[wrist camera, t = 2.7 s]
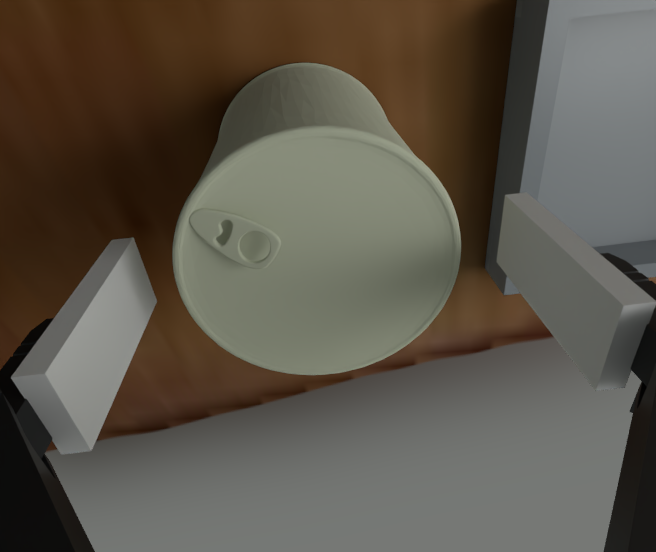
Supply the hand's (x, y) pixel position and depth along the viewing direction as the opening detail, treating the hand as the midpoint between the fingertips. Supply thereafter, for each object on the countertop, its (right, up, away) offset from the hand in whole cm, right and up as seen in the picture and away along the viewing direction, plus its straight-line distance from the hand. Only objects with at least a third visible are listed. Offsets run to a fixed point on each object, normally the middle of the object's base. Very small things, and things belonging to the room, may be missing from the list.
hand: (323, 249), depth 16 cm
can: (-1, +5, +8) cm, 10 cm away
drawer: (+18, +7, +9) cm, 21 cm away
